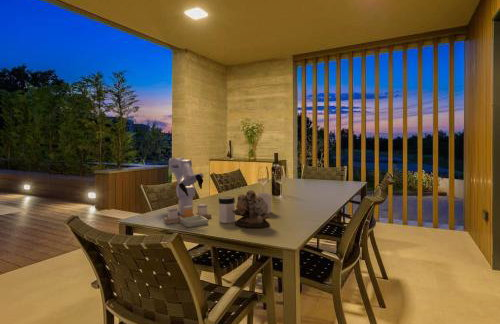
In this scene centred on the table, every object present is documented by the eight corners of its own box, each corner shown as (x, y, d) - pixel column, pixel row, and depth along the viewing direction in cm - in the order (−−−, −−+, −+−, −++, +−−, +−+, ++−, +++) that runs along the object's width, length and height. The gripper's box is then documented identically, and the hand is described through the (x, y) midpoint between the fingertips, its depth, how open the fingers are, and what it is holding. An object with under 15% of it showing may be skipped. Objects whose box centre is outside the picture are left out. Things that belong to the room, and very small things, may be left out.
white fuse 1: (167, 221, 158) (167, 208, 157) (175, 220, 160) (175, 207, 159) (170, 223, 154) (169, 209, 154) (177, 222, 156) (177, 208, 156)
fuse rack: (163, 221, 158) (163, 217, 158) (206, 215, 170) (206, 211, 170) (167, 224, 152) (167, 220, 152) (211, 218, 164) (211, 214, 163)
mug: (272, 211, 177) (271, 193, 177) (270, 214, 169) (269, 195, 169) (251, 210, 180) (250, 192, 179) (248, 213, 172) (248, 195, 171)
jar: (215, 221, 155) (214, 198, 155) (224, 218, 162) (223, 195, 162) (230, 223, 151) (229, 199, 150) (238, 220, 158) (238, 196, 157)
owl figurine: (229, 228, 144) (228, 191, 143) (236, 222, 155) (235, 188, 154) (267, 229, 140) (266, 192, 139) (271, 223, 151) (271, 188, 150)
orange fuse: (183, 219, 162) (182, 206, 161) (190, 218, 164) (190, 205, 163) (185, 221, 158) (185, 207, 158) (193, 220, 160) (192, 206, 160)
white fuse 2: (197, 217, 166) (197, 204, 165) (204, 216, 168) (204, 203, 167) (200, 219, 162) (199, 205, 162) (207, 218, 164) (207, 204, 164)
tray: (180, 222, 155) (180, 217, 155) (200, 219, 160) (200, 215, 160) (187, 227, 146) (186, 222, 145) (208, 224, 151) (208, 219, 151)
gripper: (172, 176, 164) (177, 192, 154) (197, 163, 165) (203, 179, 155) (178, 184, 168) (183, 201, 158) (202, 172, 169) (208, 188, 159)
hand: (193, 191), depth 157 cm, fingers open, 7 cm apart
